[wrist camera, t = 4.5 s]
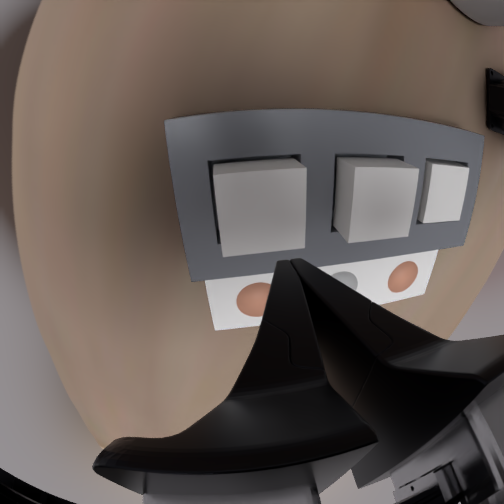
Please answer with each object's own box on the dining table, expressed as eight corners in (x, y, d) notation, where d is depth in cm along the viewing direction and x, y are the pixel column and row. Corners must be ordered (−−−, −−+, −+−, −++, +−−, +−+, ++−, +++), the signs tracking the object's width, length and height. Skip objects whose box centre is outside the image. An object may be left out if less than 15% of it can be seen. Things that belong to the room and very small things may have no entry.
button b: (449, 159, 17) (469, 167, 15) (441, 208, 19) (459, 220, 17) (412, 155, 17) (432, 163, 14) (405, 210, 19) (422, 223, 17)
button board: (460, 128, 16) (484, 135, 14) (444, 230, 22) (463, 245, 19) (173, 117, 15) (164, 120, 12) (194, 257, 20) (191, 281, 17)
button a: (293, 158, 15) (306, 167, 12) (293, 228, 17) (304, 248, 15) (213, 164, 14) (212, 175, 12) (221, 236, 16) (222, 257, 14)
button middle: (396, 158, 15) (419, 168, 13) (389, 220, 17) (408, 236, 15) (336, 156, 15) (355, 167, 13) (332, 225, 17) (348, 243, 15)
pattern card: (437, 244, 22) (440, 246, 22) (422, 292, 25) (424, 294, 25) (204, 273, 21) (203, 276, 20) (214, 328, 24) (215, 331, 24)
